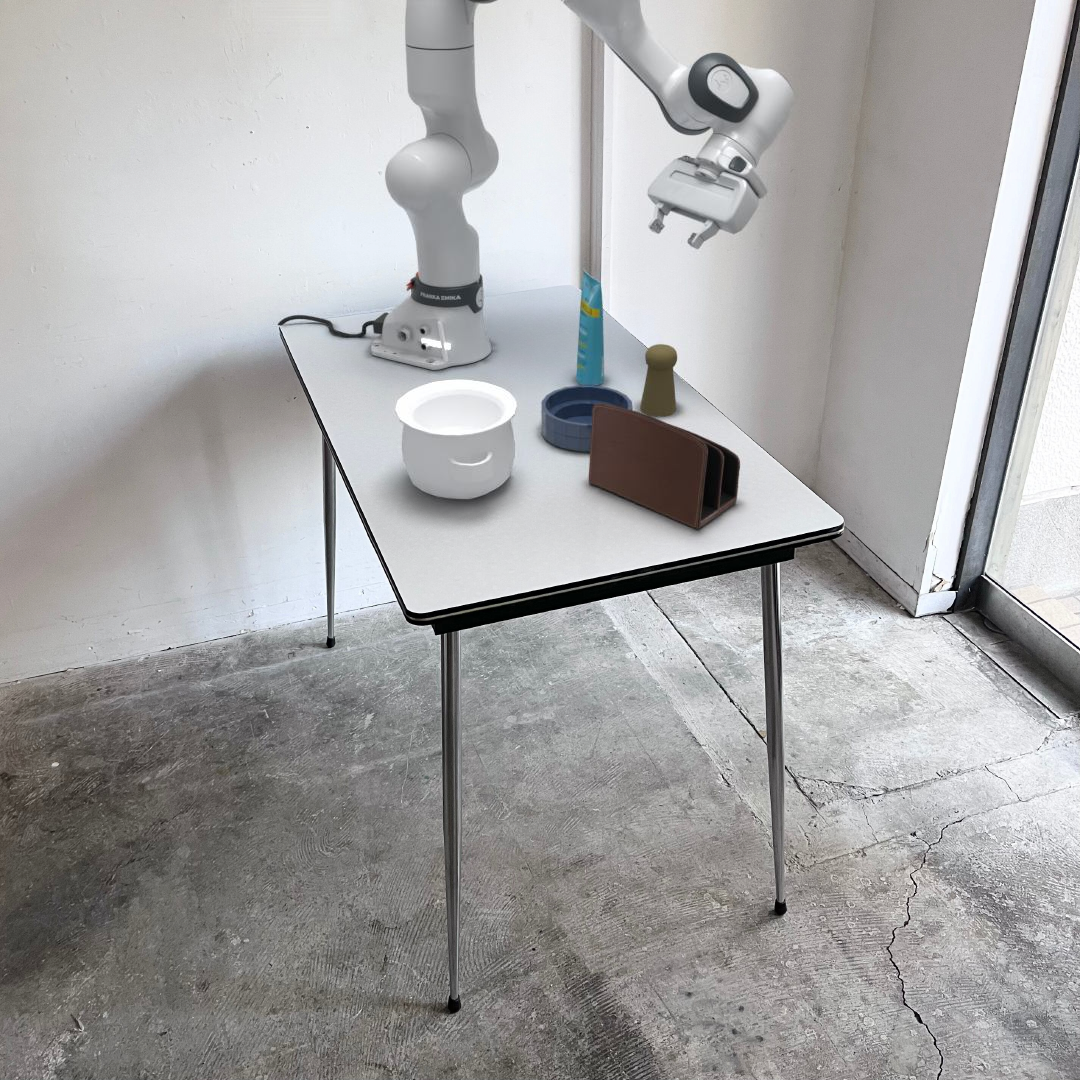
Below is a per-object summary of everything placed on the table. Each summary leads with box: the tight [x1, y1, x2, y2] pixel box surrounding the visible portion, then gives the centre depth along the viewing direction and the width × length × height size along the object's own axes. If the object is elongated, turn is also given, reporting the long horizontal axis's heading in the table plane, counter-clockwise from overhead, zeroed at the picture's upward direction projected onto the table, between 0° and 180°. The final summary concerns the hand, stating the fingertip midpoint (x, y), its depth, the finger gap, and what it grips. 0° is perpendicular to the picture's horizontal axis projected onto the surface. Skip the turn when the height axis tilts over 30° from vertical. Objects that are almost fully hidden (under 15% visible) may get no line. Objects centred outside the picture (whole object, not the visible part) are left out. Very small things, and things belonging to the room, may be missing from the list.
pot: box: [394, 379, 518, 500], centre depth 159 cm, size 22×17×12 cm
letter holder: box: [588, 403, 741, 531], centre depth 155 cm, size 10×20×14 cm, turn 48°
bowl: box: [540, 384, 634, 452], centre depth 174 cm, size 14×14×5 cm
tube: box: [575, 268, 605, 386], centre depth 187 cm, size 7×5×19 cm, turn 26°
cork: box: [639, 343, 678, 418], centre depth 180 cm, size 6×6×11 cm
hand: (672, 238), depth 175 cm, fingers open, 8 cm apart
